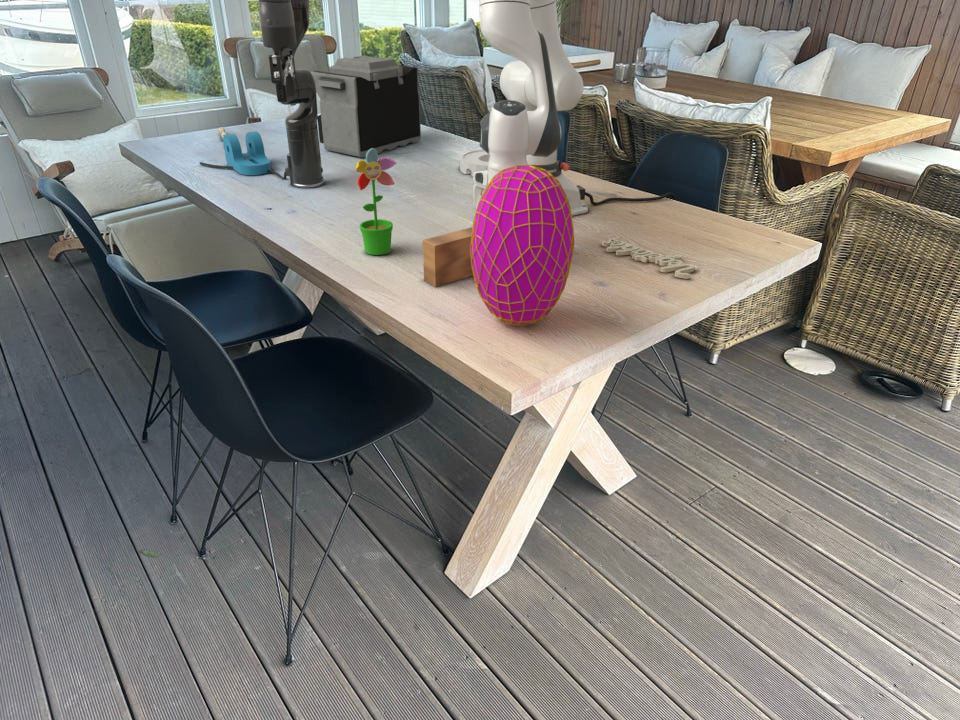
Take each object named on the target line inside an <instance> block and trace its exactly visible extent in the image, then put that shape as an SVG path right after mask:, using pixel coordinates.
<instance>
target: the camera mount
mask: <svg viewBox="0 0 960 720" xmlns="http://www.w3.org/2000/svg"><path fill="white" fill-rule="evenodd" d="M222 143H223V149H224V150H223V151H224V156H225V161H226V166H233V169H232V170H234V171H236V172H237V173H238V174H239V175H244V176H260V175H265V174H268V173H269V172H268V170H272V164H271V159H270V158H268V157H267V156H266V153H265V145H264V141H263V139H262V136H261V134H260V132H258V131H247V132H246V133H245V146H246V152H243V151H242V150H243V149H242V146H241V142H240V140H239V138H238V135H236V134H235V133H231V134H228V135H224V137H223V141H222Z"/></svg>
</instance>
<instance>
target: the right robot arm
mask: <svg viewBox="0 0 960 720" xmlns="http://www.w3.org/2000/svg"><path fill="white" fill-rule="evenodd" d="M478 6H479V10H478V11H479V12H478V13H479V24H480V31H481V34H482V36H483V38H484V40H485V41H486V42H487V44H489V45H490V46H491V47H492V48H494V50H496V51H498V52H500V53H502V54H505V55H507V56H509V57H511V58H514V59H516V60H512V61H510V62H508V63H507V64H506V65H505V66H504V67H503V68H502V70H501V73H500V76H499V88H500V90H501V91H500V92H501V93H502V95H503V96H504V97H505V98H506V99H503V100H500V101H497V102H495V103H494V104H492V105H491V109H490V111H489V112H488V113H486V114H485V115H484V117H482V119H481V120H480V121H479V126H480V140H479V147H480V149H483V150H484V151H485V152H486V153H488V154H490V158H489V162H488V169H485V170H481V171H477V172H474V173H473V176H472V179H473V182H474V183H473V187H472V205H473V208H474V210H475V211H476V209H477V207H478V204H479V201H480V198H481V196H482V194H483V192H484V191H485V189H486V187H487V186H488V184H489V183H490V181H491V179H492V178H493V177H494V176H495V175H496V174H497V173H499V172H500V171H501V170H503V169H506V168H509V167H513V166H516V165H532V166H536V167H539V168H542V169H545V170H547V171H549V172H550V173H551V174H552V175H553V176H554V177H555V178H556V179H557V180H558V181H559V182H560V184H561V186H562V188H563V189H564V191H565V193H566V195H567V198H568V201H569V204H570V207H571V213H572V217H573V216H578V215H581V214H586V213H588V211H589V207H588V205H587V204H586V203H585V202H583V201H584V200H585V199H586V197H587V198H588V199H589V202H590V204H591V205H593V206H600V205H603V204H606V203H608V202H609V203H610V202H653V201H659V200H663V199H665V198H667V197H671V198H673V199H676V198H677V196H676V195H675V194H674V193H673V192H666V193H664V194H662V195H660V196H653V197H642V198H641V197H636V198H635V197H608V198H605V199H602V200H601V201H599V202H598V201H597V202H596V201H594V197H593V195H592V194H591V193H589V192H586V191H587V190H586V188H584V187H583V186H582V185H579V184H578V185H576V184H575V183H574V182H573V181H571V180H570V179H569V178H568V177H567V176H565V175H564V174H563V173H562V172H568V171H569V169H570V165H569V163H567V162H561V161H560V160H558V149H559V148H560V147H561V142H562V126H561V121H560V119H559V114H558V112H564V111H565V112H566V111H571V110H574V109H575V107H577V106H578V104H579V103H580V102H581V100H582V97H583V93H584V89H585V88H584V81H583V78H582V75H581V74H580V72H578V70H576V69H575V67H574V66H573V65H572V62H571V61H570V59H569V58H568V55H567V53H566V50H565V48H564V45H563V43H562V39H561V35H560V30H559V22H558V10H557V0H479V5H478Z"/></svg>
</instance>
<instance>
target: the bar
mask: <svg viewBox="0 0 960 720" xmlns="http://www.w3.org/2000/svg"><path fill="white" fill-rule="evenodd" d="M472 228H473V226H471V227H467V228H464V229H460V230H456V231H451V232H448V233H445V234H440V235H437V236H433V237H428V238H424V239H422V260H423V261H422V262H423V281H424V282H426V283H428V284H429V285H431V286H433V287H434V288H438V287H441V286H444V285H447V284H451V283H453V282H457V281H461V280H463V279H466V278H469V277H474V276H473V272H472V267H471V256H470V244H471V236H472Z"/></svg>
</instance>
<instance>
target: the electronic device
mask: <svg viewBox="0 0 960 720" xmlns="http://www.w3.org/2000/svg"><path fill="white" fill-rule="evenodd" d="M310 72H311V73H312V75H313V77H314V80H315V85H316V95H317V96H318V98H319V110H320V111H319V112H320V114H319V115H318V118H317V127H318V137H319V144H323V146H324V149H325V150H327V151H330V152H335V153H340V154H344V155H348V156H353V157H357V158H362V159H363V158H366V153H367V152H368V151H369V150H370V149H371V148H374V149H376V151H377V153H378V154H381V153H382V152H383V151H391V150H395V149H396V148H397V147H405V146H407V145H408V144H416V143H418V142H419V141H421V137H422V128H421V97H420V92H419V91H420V89H419V68H418V67H417V66H408V65H400V64H396V62H395V60H394V59H393V58H385V57H377V56H367V55H356V56H353V57H350V58H349V57H343V58H342V57H341V58H337V59H336V60H335V63H334V64H333V65H330V66H329V67H328V72H327V71H320V70H314V71H313V70H312V71H310Z"/></svg>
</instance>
